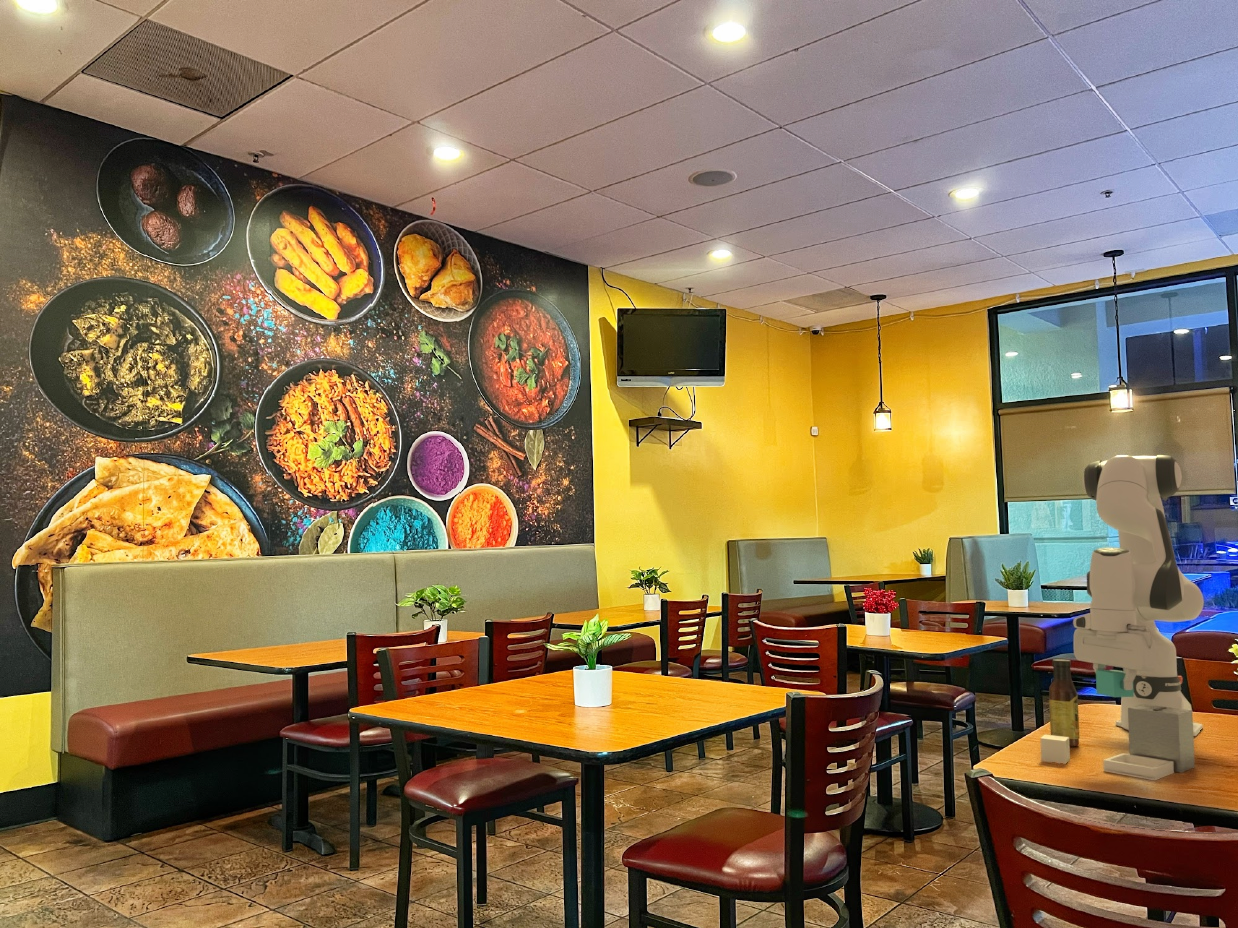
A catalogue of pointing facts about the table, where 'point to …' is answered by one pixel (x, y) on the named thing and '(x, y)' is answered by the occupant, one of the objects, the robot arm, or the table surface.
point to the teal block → (1111, 683)
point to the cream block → (1055, 749)
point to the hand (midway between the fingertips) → (1114, 687)
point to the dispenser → (1162, 734)
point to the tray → (1138, 766)
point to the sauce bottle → (1064, 703)
